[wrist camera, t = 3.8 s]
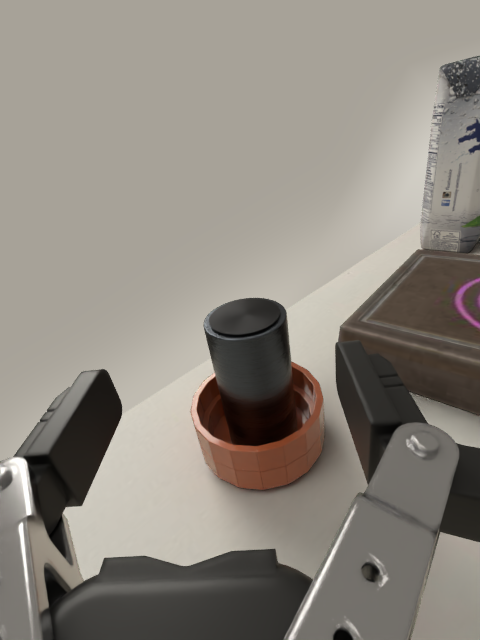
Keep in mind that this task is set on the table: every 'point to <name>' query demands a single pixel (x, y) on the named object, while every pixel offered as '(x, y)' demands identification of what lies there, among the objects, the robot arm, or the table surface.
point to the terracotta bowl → (269, 459)
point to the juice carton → (454, 162)
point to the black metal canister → (253, 369)
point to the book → (427, 326)
